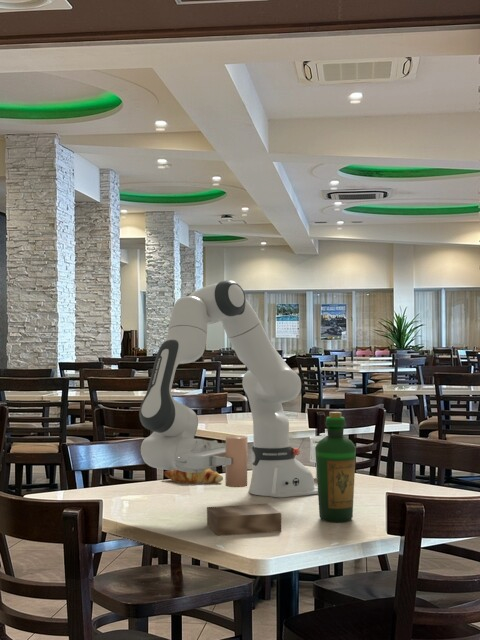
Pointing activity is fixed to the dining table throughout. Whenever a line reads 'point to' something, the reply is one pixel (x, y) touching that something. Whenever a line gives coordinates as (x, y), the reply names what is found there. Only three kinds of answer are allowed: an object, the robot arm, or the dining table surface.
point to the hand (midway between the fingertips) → (239, 459)
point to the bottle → (335, 472)
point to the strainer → (312, 447)
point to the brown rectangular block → (243, 519)
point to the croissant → (194, 476)
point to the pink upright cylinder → (236, 461)
